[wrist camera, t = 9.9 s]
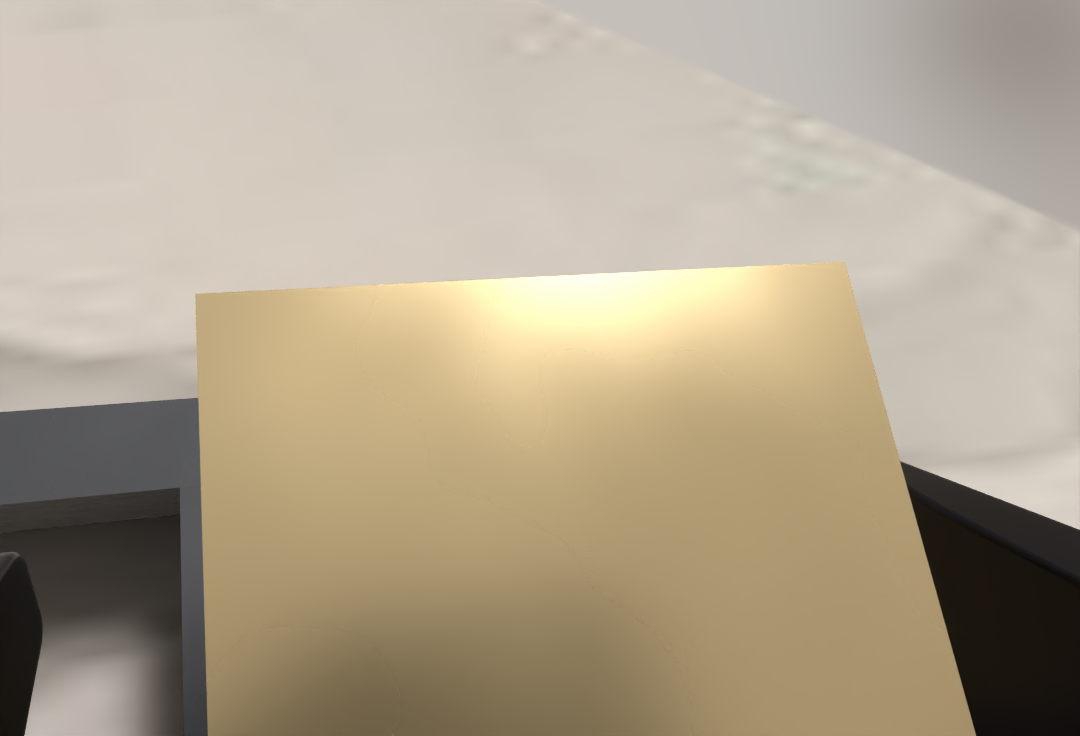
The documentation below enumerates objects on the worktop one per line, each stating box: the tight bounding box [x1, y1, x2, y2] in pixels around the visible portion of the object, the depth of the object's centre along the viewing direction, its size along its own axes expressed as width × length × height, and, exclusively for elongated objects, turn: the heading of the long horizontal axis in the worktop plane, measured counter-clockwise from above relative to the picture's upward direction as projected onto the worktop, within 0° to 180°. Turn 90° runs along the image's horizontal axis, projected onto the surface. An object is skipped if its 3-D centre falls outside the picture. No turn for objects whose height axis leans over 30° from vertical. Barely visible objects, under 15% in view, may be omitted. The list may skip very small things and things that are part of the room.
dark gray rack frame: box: [0, 398, 208, 736], centre depth 14 cm, size 9×15×2 cm, turn 98°
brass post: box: [196, 262, 976, 736], centre depth 11 cm, size 4×4×12 cm
